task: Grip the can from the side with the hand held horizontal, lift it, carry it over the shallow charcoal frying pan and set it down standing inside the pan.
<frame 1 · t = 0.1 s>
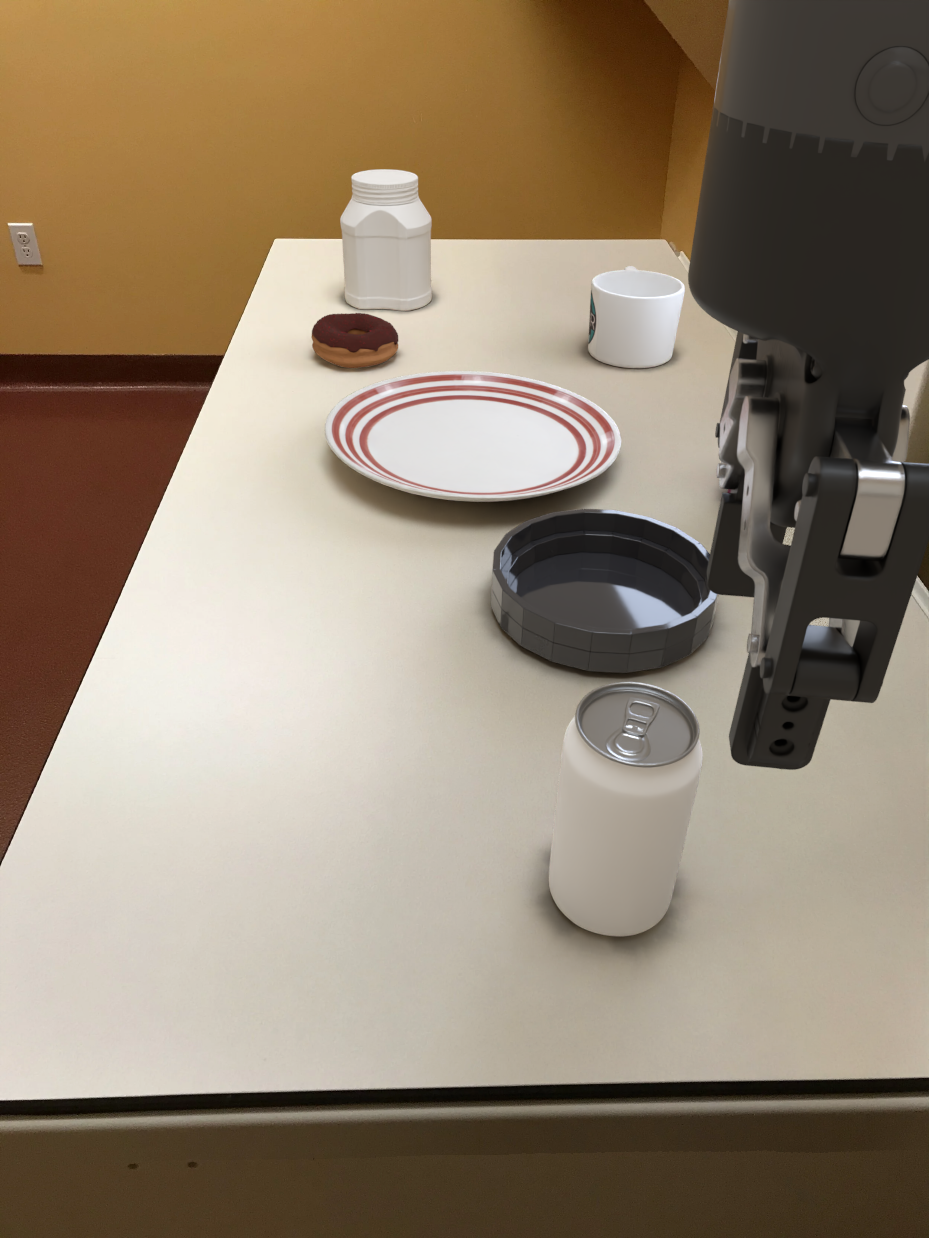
hand: (749, 665, 31), 22 cm above the table, tool pointing down, fingers open, 8 cm apart
pan: (600, 608, 71), on the table
dinner plate: (472, 456, 91), on the table
cup: (755, 501, 85), on the table
can: (608, 891, 51), on the table
jar: (388, 299, 127), on the table
mug: (627, 350, 114), on the table
donut: (356, 357, 111), on the table
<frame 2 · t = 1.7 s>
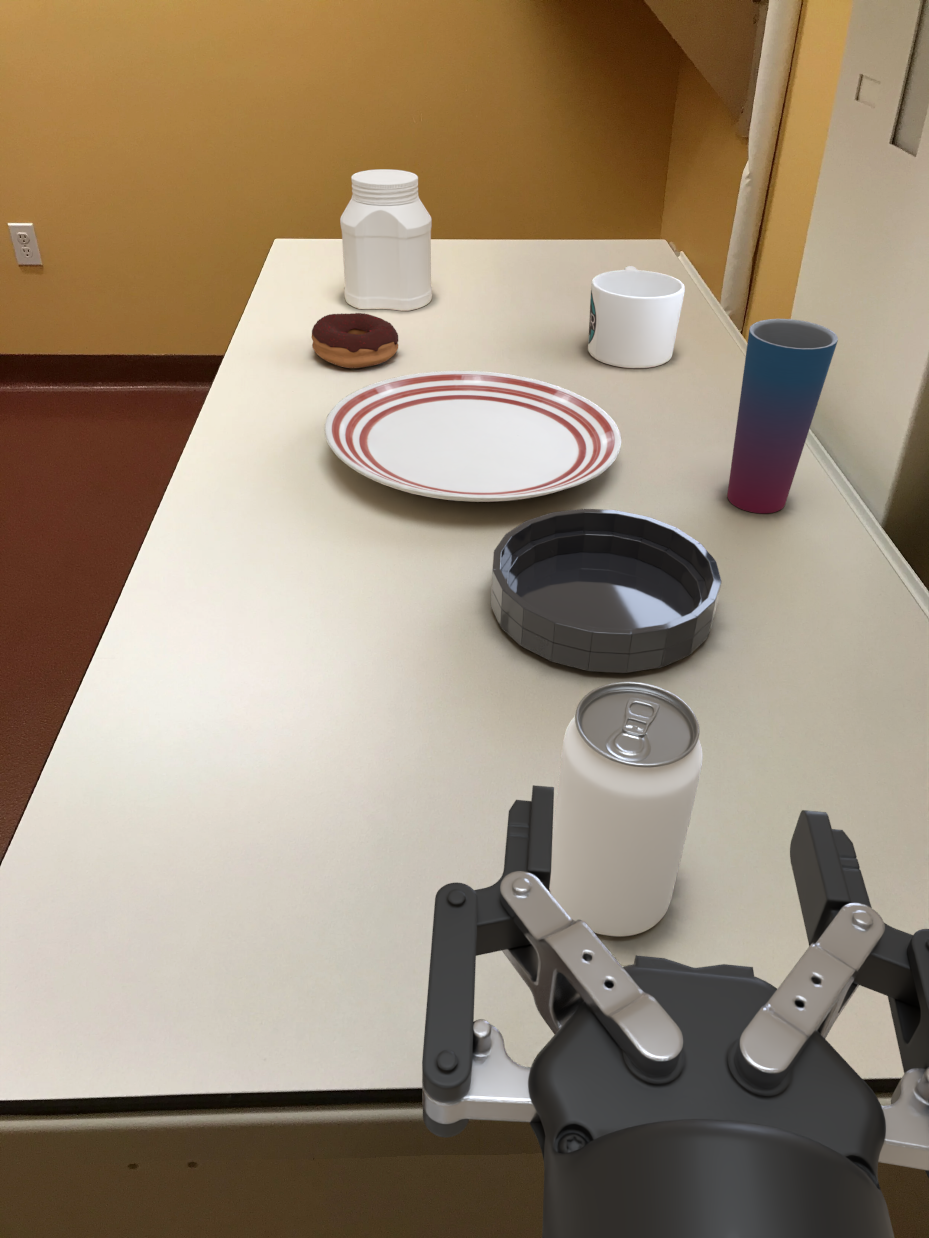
hand: (671, 815, 31), 18 cm above the table, tool horizontal, fingers open, 8 cm apart
nothing on the table moved.
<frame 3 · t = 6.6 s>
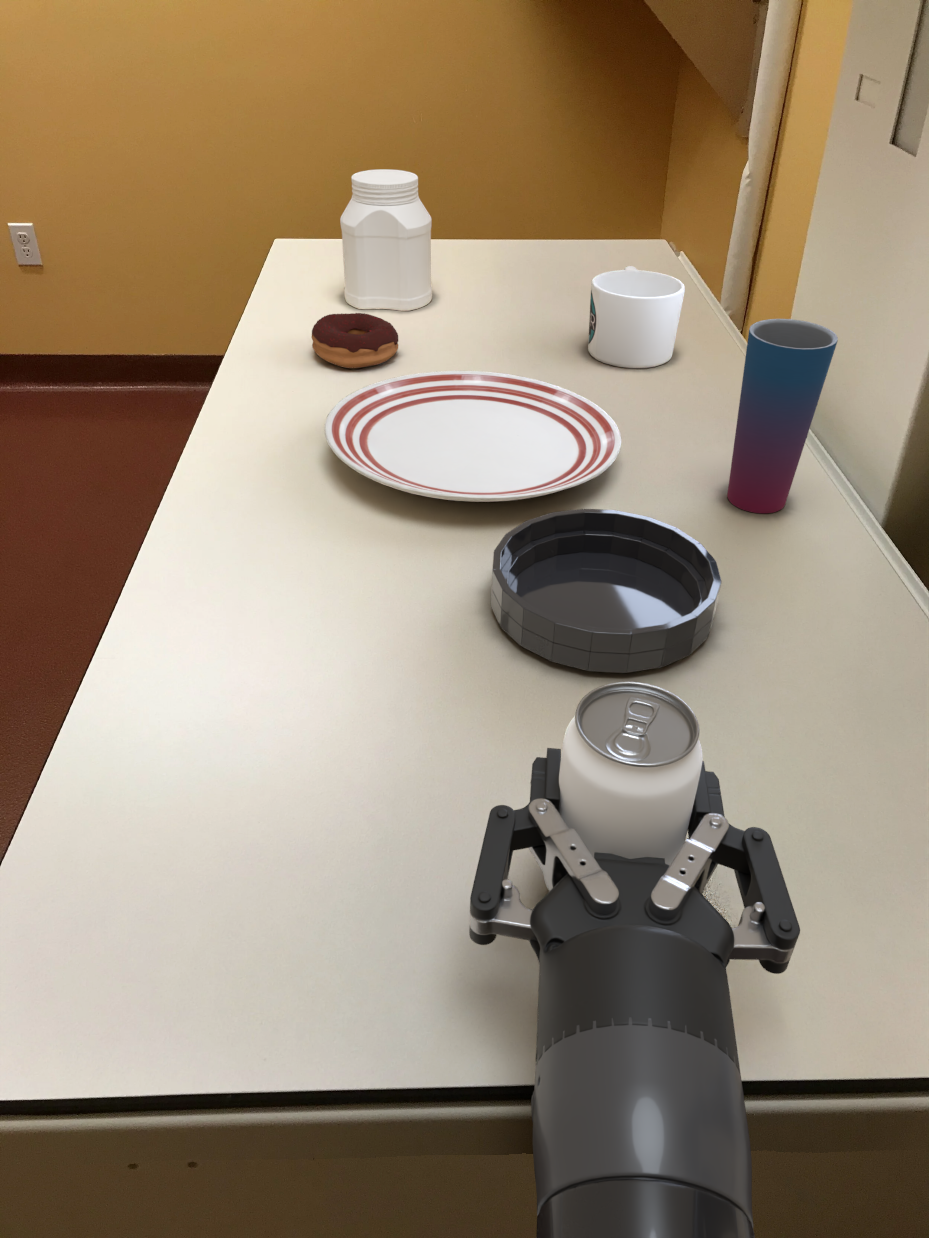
hand: (622, 766, 48), 7 cm above the table, tool horizontal, fingers closed on can, 6 cm apart
can: (608, 891, 51), on the table, touching gripper
everything else where it was.
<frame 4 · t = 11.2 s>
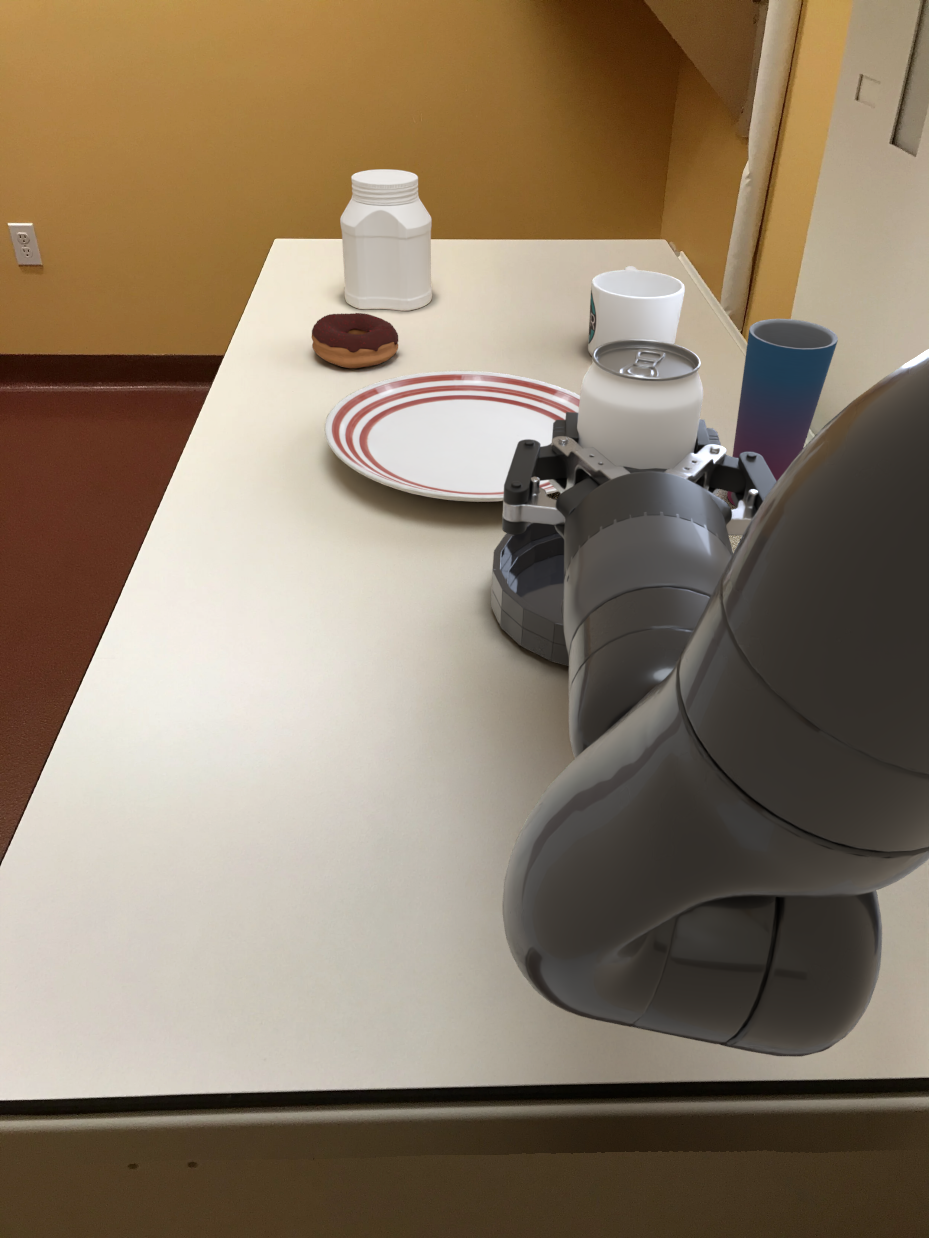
hand: (631, 431, 55), 18 cm above the table, tool horizontal, fingers closed on can, 6 cm apart
can: (619, 555, 57), point 11 cm above the table, touching gripper
everything else where it was.
when the fingers open (7 cm above the table, at t = 16.0 s): can stays where it is, resting on pan.
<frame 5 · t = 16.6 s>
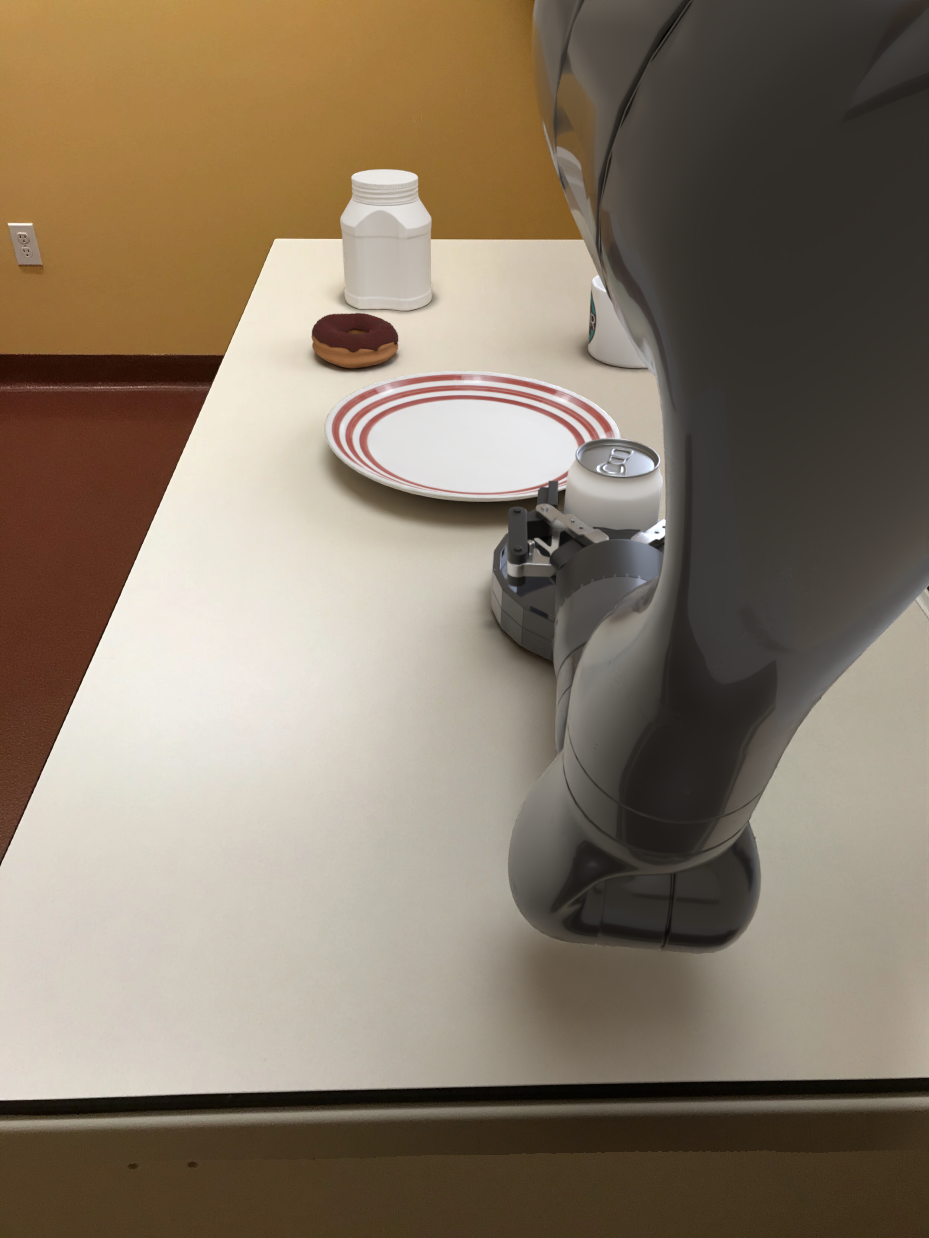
hand: (612, 495, 68), 8 cm above the table, tool horizontal, fingers open, 8 cm apart
can: (599, 605, 71), resting on pan
everything else where it was.
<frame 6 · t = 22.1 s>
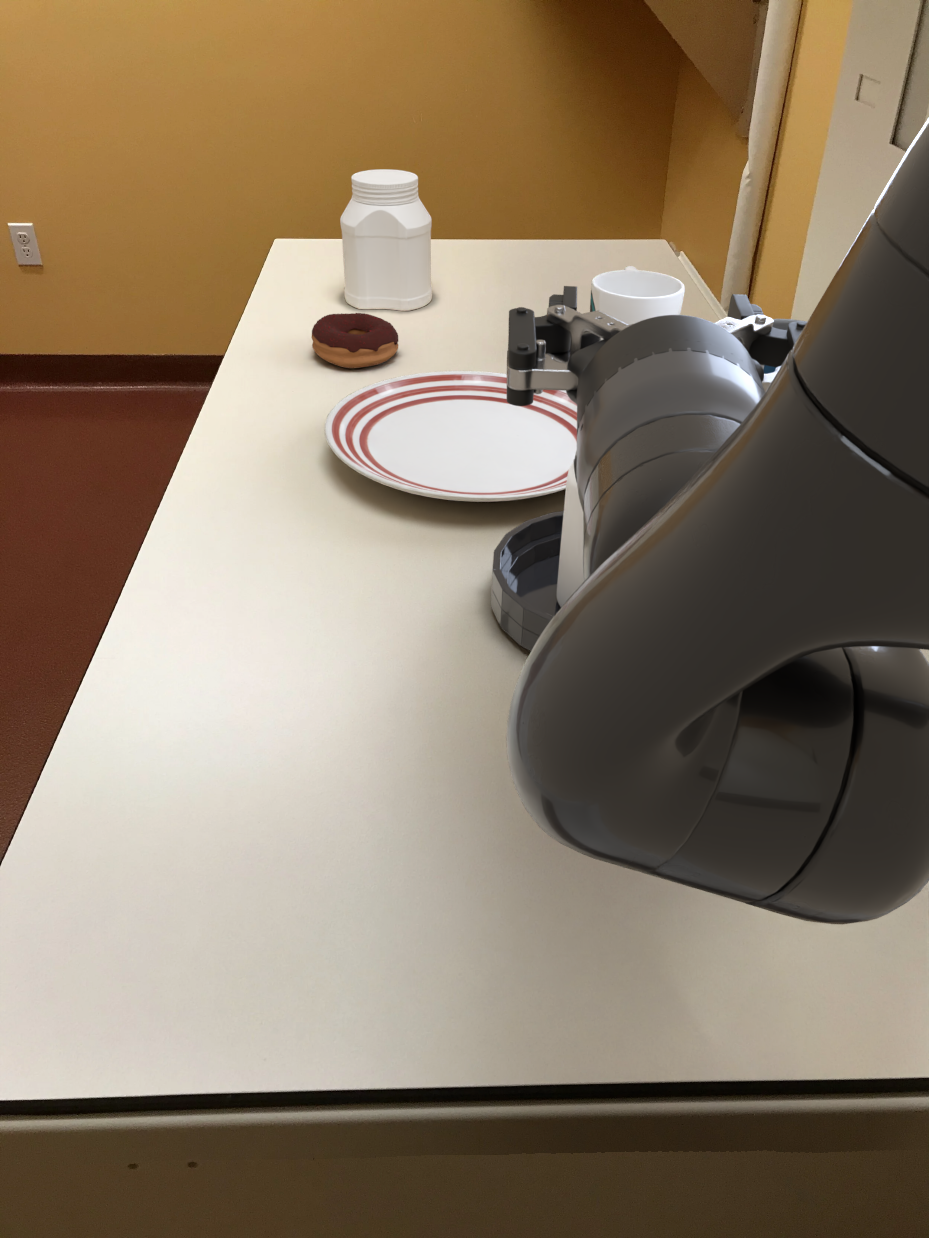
hand: (650, 309, 50), 25 cm above the table, tool horizontal, fingers open, 8 cm apart
nothing on the table moved.
at the end: can inside the target area in the pan (0.2 cm from its centre), point 0.3 cm above the pan's base; can tilted 0° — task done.
